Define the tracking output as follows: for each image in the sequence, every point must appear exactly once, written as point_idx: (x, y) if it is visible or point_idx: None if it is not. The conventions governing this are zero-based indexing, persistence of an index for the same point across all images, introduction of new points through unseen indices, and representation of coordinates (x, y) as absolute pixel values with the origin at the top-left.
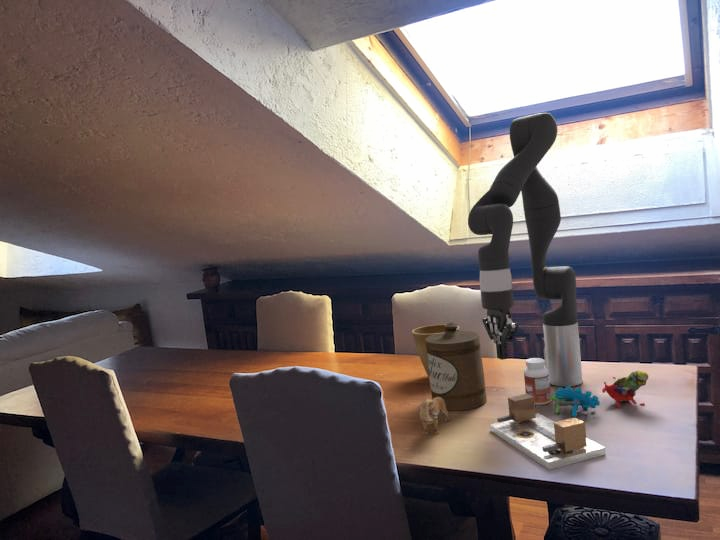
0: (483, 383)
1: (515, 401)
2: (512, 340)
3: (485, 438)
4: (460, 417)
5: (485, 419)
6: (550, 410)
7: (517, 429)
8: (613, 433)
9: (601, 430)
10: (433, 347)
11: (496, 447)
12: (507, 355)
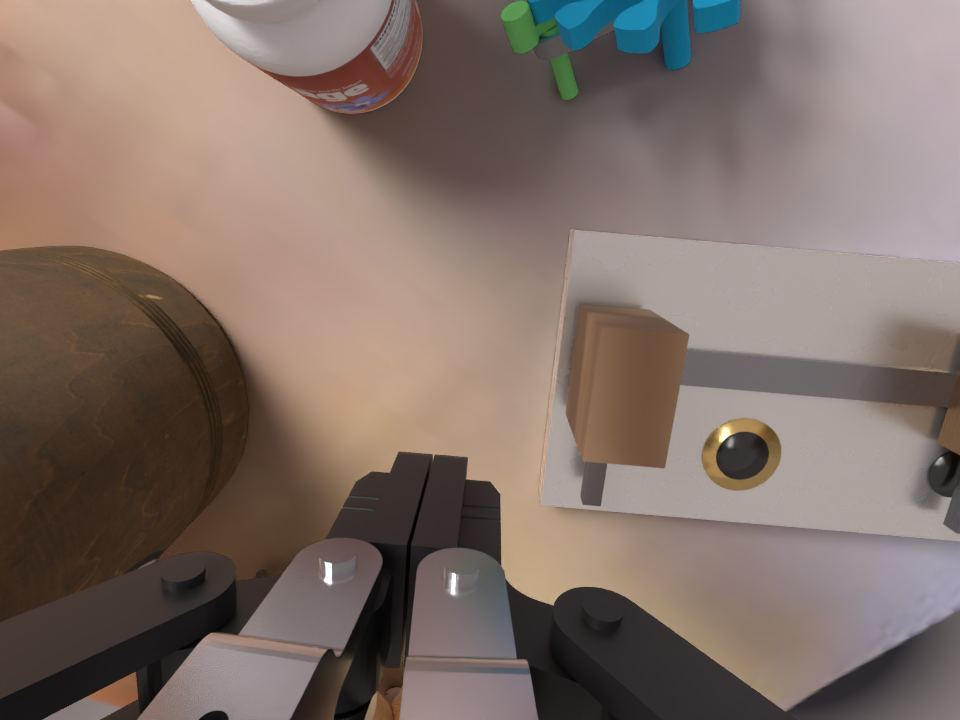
0: (135, 329)
1: (663, 462)
2: (643, 614)
3: (590, 547)
4: (318, 507)
5: (409, 433)
6: (509, 85)
7: (670, 444)
8: (953, 53)
9: (887, 73)
10: None
11: (689, 561)
12: (495, 496)
